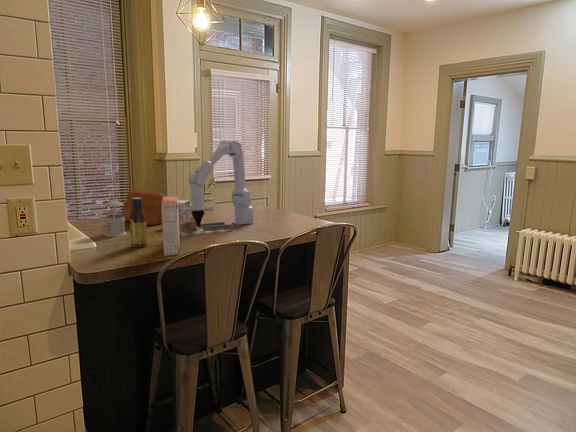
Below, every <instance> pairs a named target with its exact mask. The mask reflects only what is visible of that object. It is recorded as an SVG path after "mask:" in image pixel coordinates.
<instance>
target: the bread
mask: <svg viewBox="0 0 576 432" xmlns="http://www.w3.org/2000/svg"><path fill="white" fill-rule="evenodd" d="M137 197H139V198H142V210H143V211H144V212H145V215H146V226H153V225H154V226H155V225H160V224H161V225H162V210H161V202H162V199H163V197H165V195H164V194H163V193H162V192H160V191H157V190H151V189H143V188H141V189H133V190H131V191H130V192H129V193H128V194H127V195H126V197H125V203H123V204H124V205H123V209H122V213H123V214H122V216H124V220H126V221H127V222H130V215H131V212H132V198H137Z"/></svg>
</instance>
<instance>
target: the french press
mask: <svg viewBox="0 0 576 432" xmlns="http://www.w3.org/2000/svg"><path fill="white" fill-rule="evenodd" d="M109 182H110V183H112V187H114V183H115V182H116V181H115V179H110V181H109ZM112 198H113V199H112V200H111V201H110V200H109V201H108V202H106V203H104V205H103V206H104V207H108V208H110V212H107V213H105V215H106V216H104V220H105V233H104V234H103V236H104V235H105V236H104V237H109V238H113V237H114V238H116V237H123V236H126V235H128V233H127V232H126V230H125V218H124V215H123V211H116V208H119V207H122V206H123V207H124V204H125V203H123V202H120V201H118V200H117V201H116V200H115V195H114V192H112ZM112 210H113V211H112Z"/></svg>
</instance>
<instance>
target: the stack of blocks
mask: <svg viewBox="0 0 576 432" xmlns="http://www.w3.org/2000/svg"><path fill="white" fill-rule="evenodd" d="M187 207H191V200H187V199H186V200H184V199H178V213H179V222H184V221H195V220H194V217H193V215H192V213H191V212H185V213H183V212H182V208H187Z"/></svg>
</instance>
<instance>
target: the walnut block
mask: <svg viewBox="0 0 576 432" xmlns="http://www.w3.org/2000/svg"><path fill="white" fill-rule="evenodd" d="M179 230H180V231H181V232H189V231H197V224H196V222H195V221H184V222H179Z"/></svg>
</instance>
